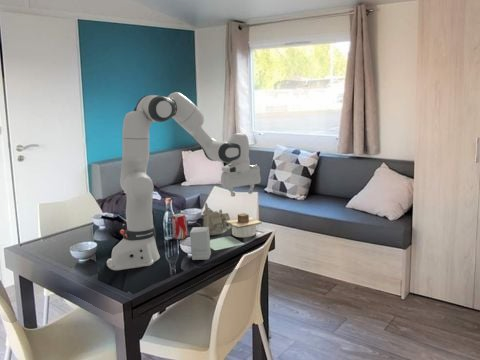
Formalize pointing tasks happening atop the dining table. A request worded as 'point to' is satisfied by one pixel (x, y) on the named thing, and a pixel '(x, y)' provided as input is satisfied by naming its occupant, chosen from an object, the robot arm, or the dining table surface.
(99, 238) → the dining table surface
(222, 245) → the mat
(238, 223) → the lid
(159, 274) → the dining table surface
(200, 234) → the supplement box
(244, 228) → the pipe section
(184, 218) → the soda can
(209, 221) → the ceramic cottage
